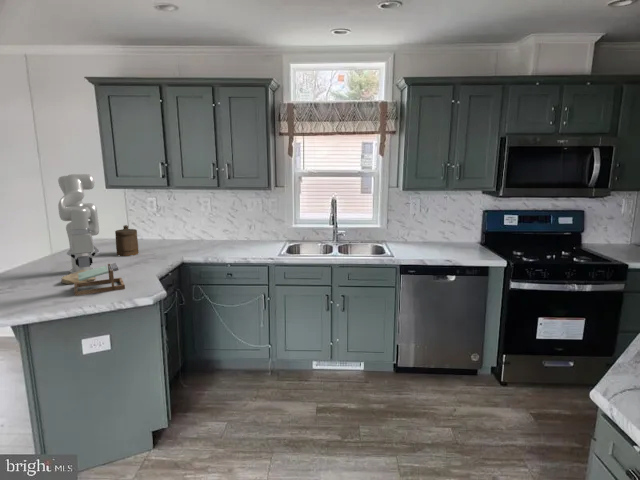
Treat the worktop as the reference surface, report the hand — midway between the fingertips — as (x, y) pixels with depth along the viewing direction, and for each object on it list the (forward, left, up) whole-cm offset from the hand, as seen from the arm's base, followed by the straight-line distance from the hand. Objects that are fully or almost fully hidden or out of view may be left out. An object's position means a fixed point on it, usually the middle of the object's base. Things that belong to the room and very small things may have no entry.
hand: (84, 265), depth 212 cm
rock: (-20, -1, -14) cm, 25 cm away
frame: (0, +6, -14) cm, 15 cm away
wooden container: (-83, +30, -14) cm, 89 cm away
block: (0, 0, -1) cm, 1 cm away
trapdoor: (0, +6, -5) cm, 8 cm away
